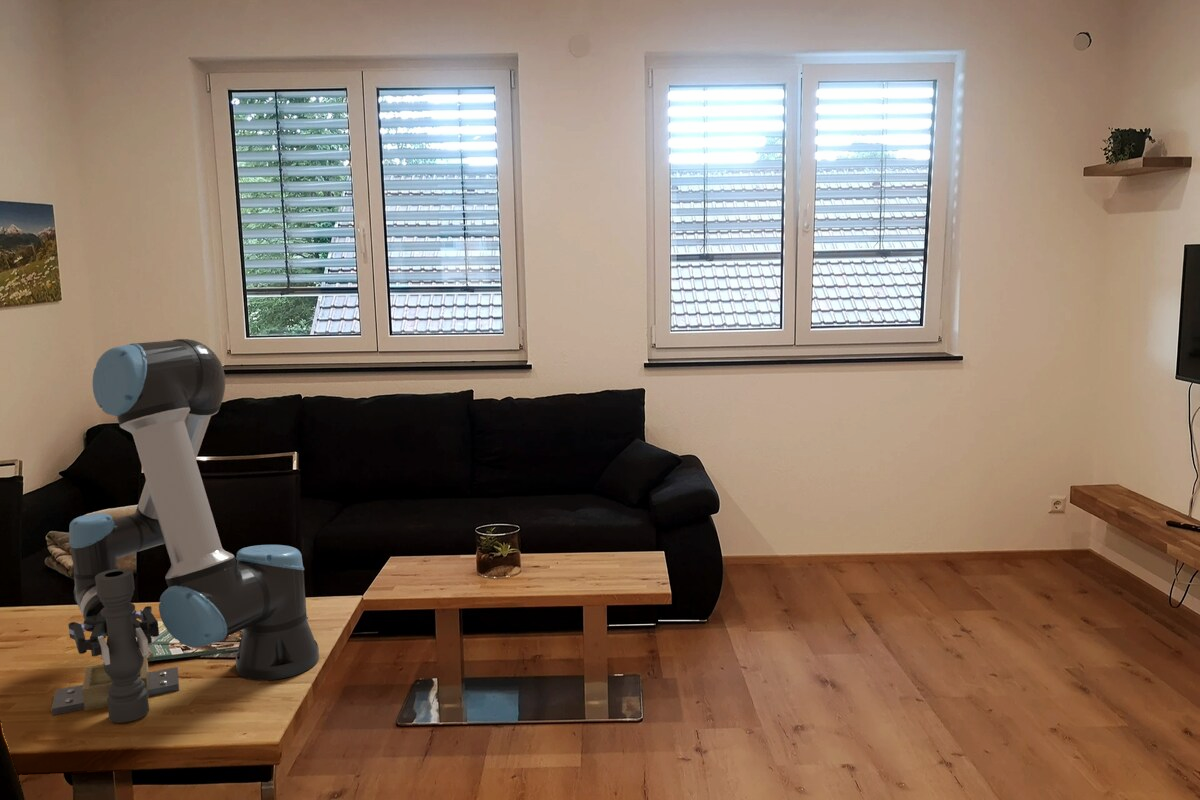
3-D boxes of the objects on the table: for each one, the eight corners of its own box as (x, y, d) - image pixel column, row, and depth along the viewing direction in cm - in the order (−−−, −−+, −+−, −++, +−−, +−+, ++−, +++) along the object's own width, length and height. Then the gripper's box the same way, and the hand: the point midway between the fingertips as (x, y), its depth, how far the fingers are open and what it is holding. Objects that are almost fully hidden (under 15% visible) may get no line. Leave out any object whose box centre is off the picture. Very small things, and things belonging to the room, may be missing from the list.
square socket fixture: (178, 670, 176) (176, 650, 175) (179, 692, 167) (177, 671, 166) (57, 693, 168) (54, 673, 167) (51, 717, 159) (49, 696, 158)
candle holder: (138, 722, 156) (122, 580, 152) (101, 722, 156) (85, 580, 152) (156, 704, 162) (141, 567, 158) (120, 705, 162) (105, 568, 158)
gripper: (161, 617, 177) (187, 659, 158) (51, 642, 167) (66, 689, 148) (157, 580, 176) (183, 617, 157) (47, 602, 165) (60, 644, 147)
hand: (126, 652), depth 152 cm, fingers closed on candle holder, 5 cm apart
